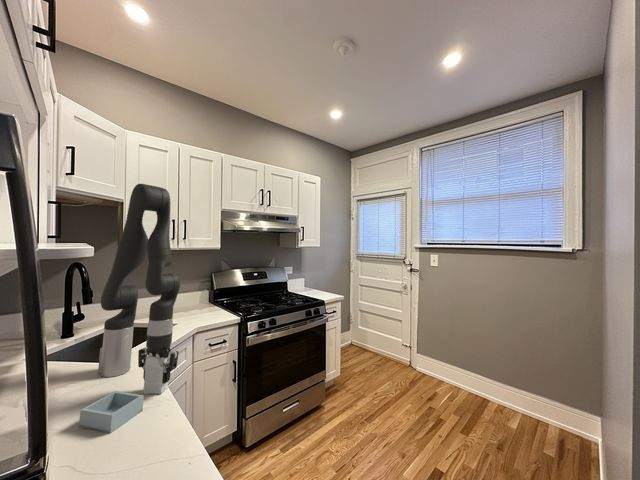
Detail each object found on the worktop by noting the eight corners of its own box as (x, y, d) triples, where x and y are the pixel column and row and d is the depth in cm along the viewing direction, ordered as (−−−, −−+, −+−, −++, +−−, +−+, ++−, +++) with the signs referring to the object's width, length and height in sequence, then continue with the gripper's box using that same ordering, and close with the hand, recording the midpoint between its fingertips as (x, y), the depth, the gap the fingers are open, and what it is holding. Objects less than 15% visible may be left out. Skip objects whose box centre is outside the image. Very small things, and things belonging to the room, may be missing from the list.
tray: (78, 427, 70) (80, 409, 70) (114, 406, 80) (115, 391, 80) (110, 433, 68) (111, 415, 68) (142, 410, 78) (143, 395, 78)
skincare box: (168, 388, 91) (170, 353, 92) (161, 394, 87) (163, 357, 88) (150, 387, 91) (153, 352, 92) (142, 394, 87) (145, 357, 88)
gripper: (186, 330, 93) (182, 378, 92) (150, 327, 95) (147, 373, 94) (170, 337, 85) (166, 389, 84) (132, 333, 88) (128, 383, 87)
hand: (156, 381), depth 89 cm, fingers closed on skincare box, 6 cm apart
